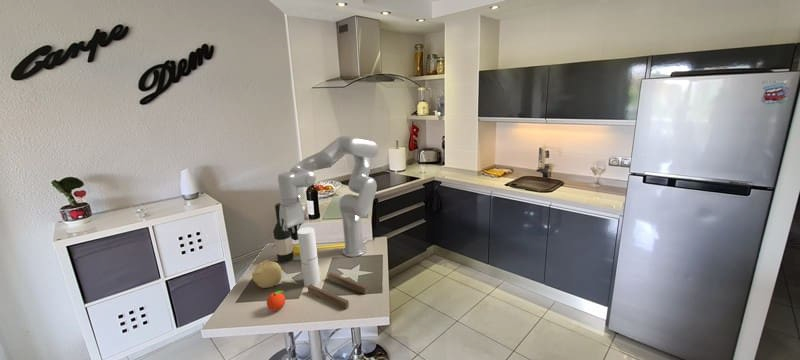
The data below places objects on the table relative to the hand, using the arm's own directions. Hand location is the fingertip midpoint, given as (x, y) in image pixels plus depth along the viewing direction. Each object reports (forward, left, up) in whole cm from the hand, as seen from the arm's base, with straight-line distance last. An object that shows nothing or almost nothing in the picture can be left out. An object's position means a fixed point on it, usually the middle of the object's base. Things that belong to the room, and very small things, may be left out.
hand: (295, 239), depth 148 cm
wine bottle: (-8, -21, -19) cm, 30 cm away
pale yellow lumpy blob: (+11, -8, -19) cm, 24 cm away
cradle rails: (0, +24, -19) cm, 31 cm away
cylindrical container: (0, +8, -19) cm, 21 cm away
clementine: (+20, +11, -19) cm, 30 cm away
